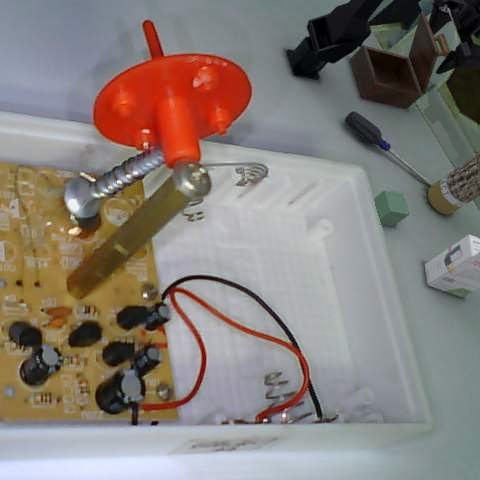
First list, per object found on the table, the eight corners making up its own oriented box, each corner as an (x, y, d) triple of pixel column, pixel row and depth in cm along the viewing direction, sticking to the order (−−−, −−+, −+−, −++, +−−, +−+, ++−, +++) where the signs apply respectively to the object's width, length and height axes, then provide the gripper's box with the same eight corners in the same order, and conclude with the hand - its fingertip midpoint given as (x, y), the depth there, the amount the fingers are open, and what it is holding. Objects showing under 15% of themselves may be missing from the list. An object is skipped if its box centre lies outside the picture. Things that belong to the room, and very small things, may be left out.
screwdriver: (443, 190, 162) (456, 180, 159) (440, 201, 160) (454, 192, 157) (342, 117, 159) (354, 105, 156) (338, 127, 157) (350, 116, 154)
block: (374, 223, 147) (390, 211, 144) (368, 202, 150) (384, 190, 146) (393, 226, 149) (409, 214, 146) (387, 205, 152) (403, 193, 148)
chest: (361, 98, 165) (375, 84, 161) (349, 59, 170) (363, 44, 166) (406, 109, 170) (422, 95, 166) (394, 71, 175) (408, 57, 171)
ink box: (459, 276, 151) (519, 239, 139) (462, 298, 148) (524, 263, 137) (423, 262, 148) (481, 224, 137) (425, 285, 145) (485, 248, 134)
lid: (435, 51, 154) (461, 47, 154) (421, 11, 159) (446, 8, 159) (421, 94, 166) (445, 91, 166) (408, 56, 171) (431, 52, 171)
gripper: (532, 49, 151) (473, 99, 163) (501, -22, 160) (446, 31, 172) (491, 36, 146) (432, 88, 158) (460, -36, 155) (407, 19, 167)
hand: (431, 56), depth 164 cm, fingers open, 9 cm apart
